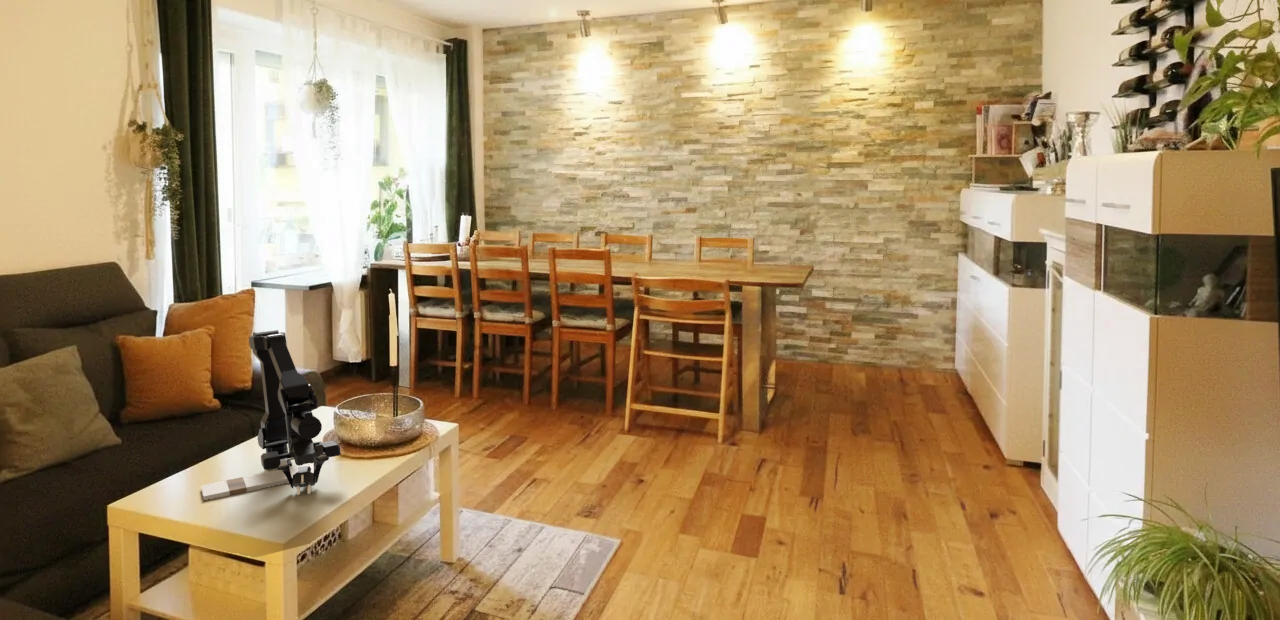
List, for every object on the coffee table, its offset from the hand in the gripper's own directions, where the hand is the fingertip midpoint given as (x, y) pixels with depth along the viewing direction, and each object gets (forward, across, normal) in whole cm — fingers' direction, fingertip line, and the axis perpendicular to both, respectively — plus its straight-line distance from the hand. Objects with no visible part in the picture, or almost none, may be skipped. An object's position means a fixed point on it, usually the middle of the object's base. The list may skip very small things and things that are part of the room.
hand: (304, 485), depth 204 cm
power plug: (+2, +1, +2) cm, 2 cm away
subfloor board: (+1, -9, +12) cm, 15 cm away
